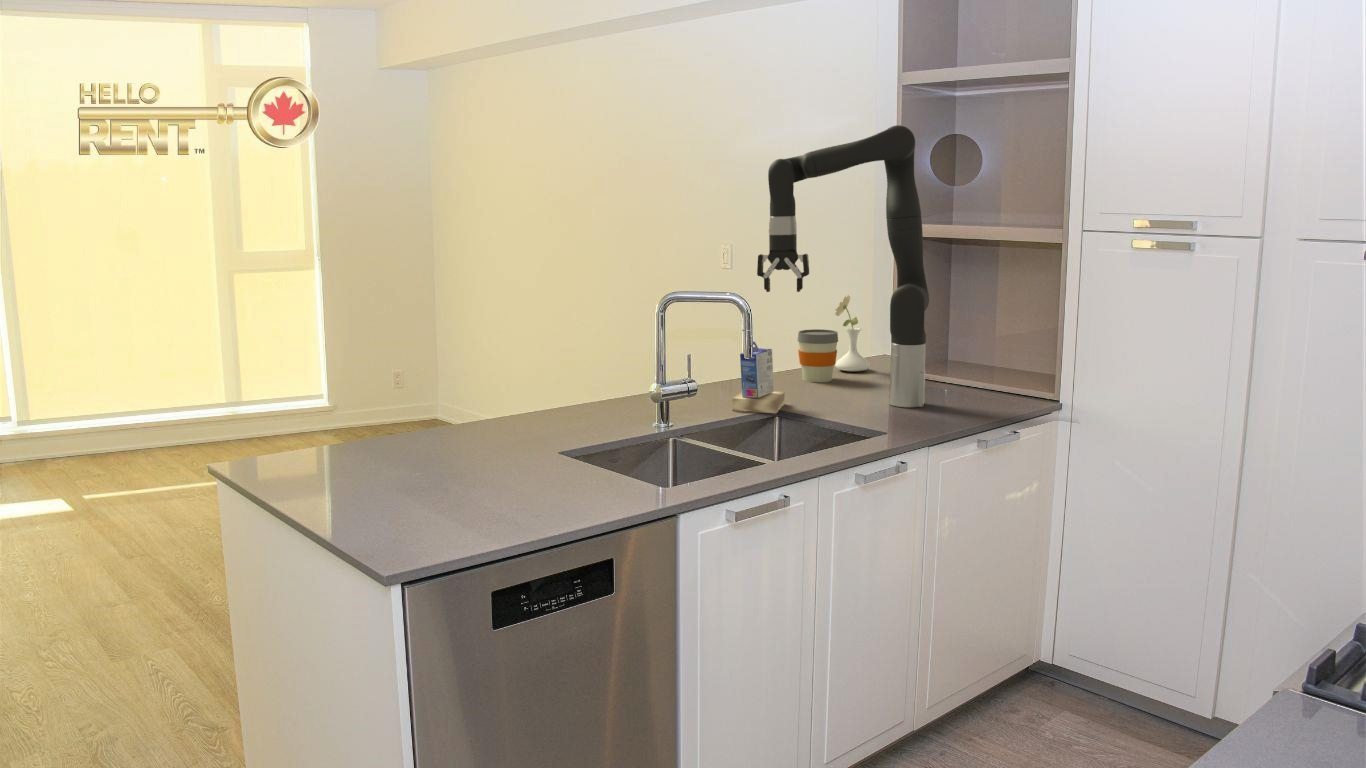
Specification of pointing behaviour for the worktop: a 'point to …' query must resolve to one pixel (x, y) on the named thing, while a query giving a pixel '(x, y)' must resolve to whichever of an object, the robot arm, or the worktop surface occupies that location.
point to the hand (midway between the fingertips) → (783, 291)
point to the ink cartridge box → (757, 373)
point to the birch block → (759, 403)
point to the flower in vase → (851, 344)
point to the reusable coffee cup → (817, 354)
